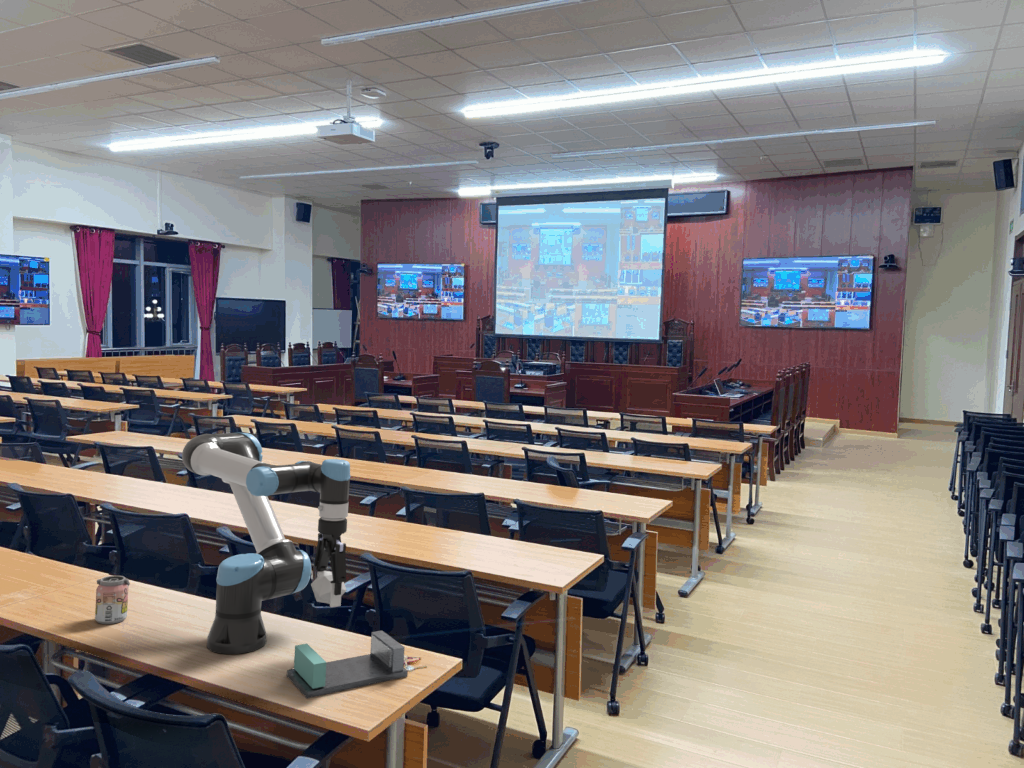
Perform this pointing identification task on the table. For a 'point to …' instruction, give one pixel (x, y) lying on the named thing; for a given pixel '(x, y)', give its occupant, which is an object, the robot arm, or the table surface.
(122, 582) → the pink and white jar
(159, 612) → the table surface
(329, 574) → the die
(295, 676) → the vise base
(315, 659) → the bar
